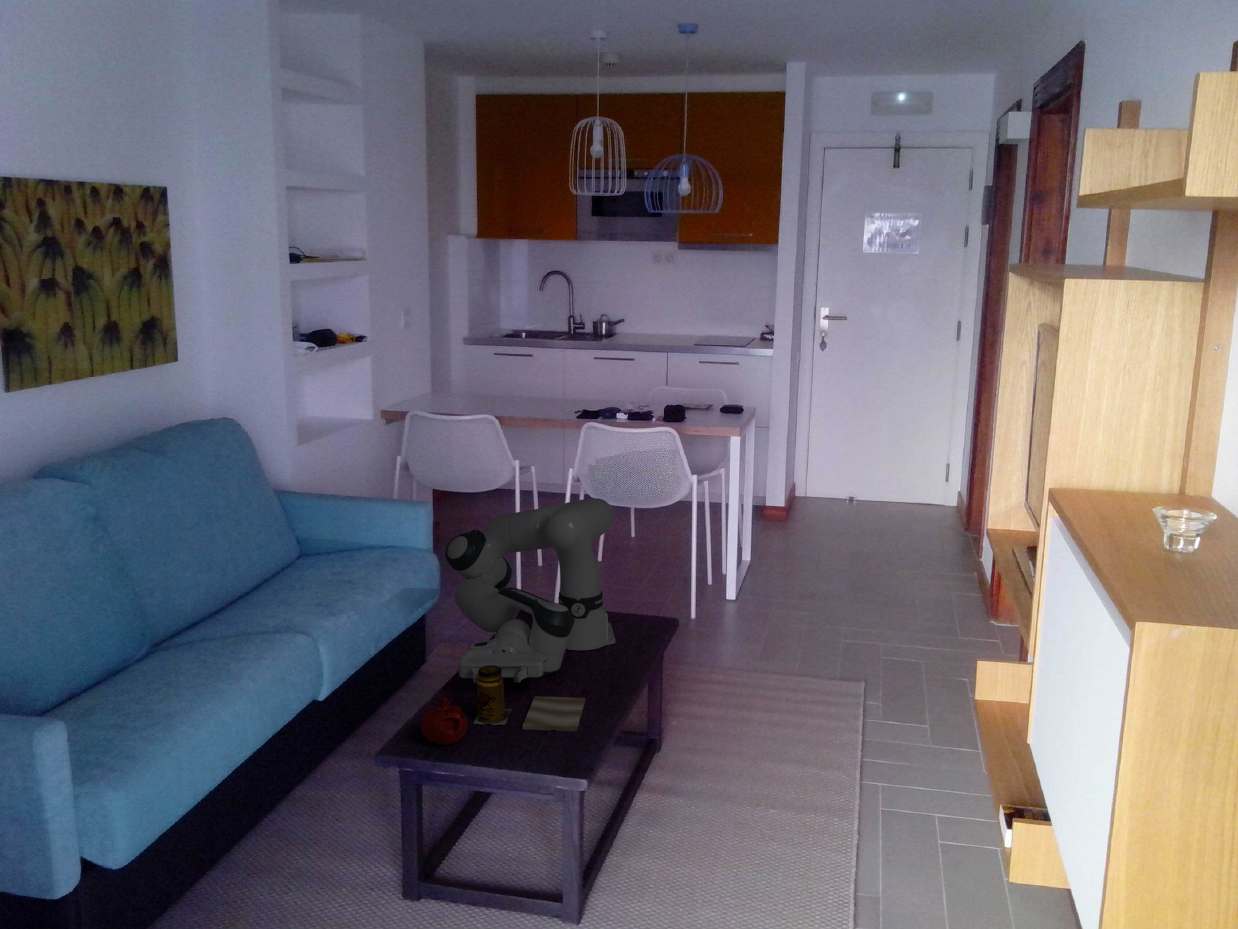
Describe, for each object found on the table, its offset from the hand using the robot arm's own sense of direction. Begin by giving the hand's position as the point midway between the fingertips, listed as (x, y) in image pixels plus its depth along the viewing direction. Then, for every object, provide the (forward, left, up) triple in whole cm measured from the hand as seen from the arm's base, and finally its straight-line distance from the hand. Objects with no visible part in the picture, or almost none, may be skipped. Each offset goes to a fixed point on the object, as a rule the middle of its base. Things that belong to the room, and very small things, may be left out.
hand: (496, 679), depth 242 cm
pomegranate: (+17, -8, -7) cm, 20 cm away
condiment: (+5, 0, -7) cm, 9 cm away
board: (+3, +14, -7) cm, 16 cm away
